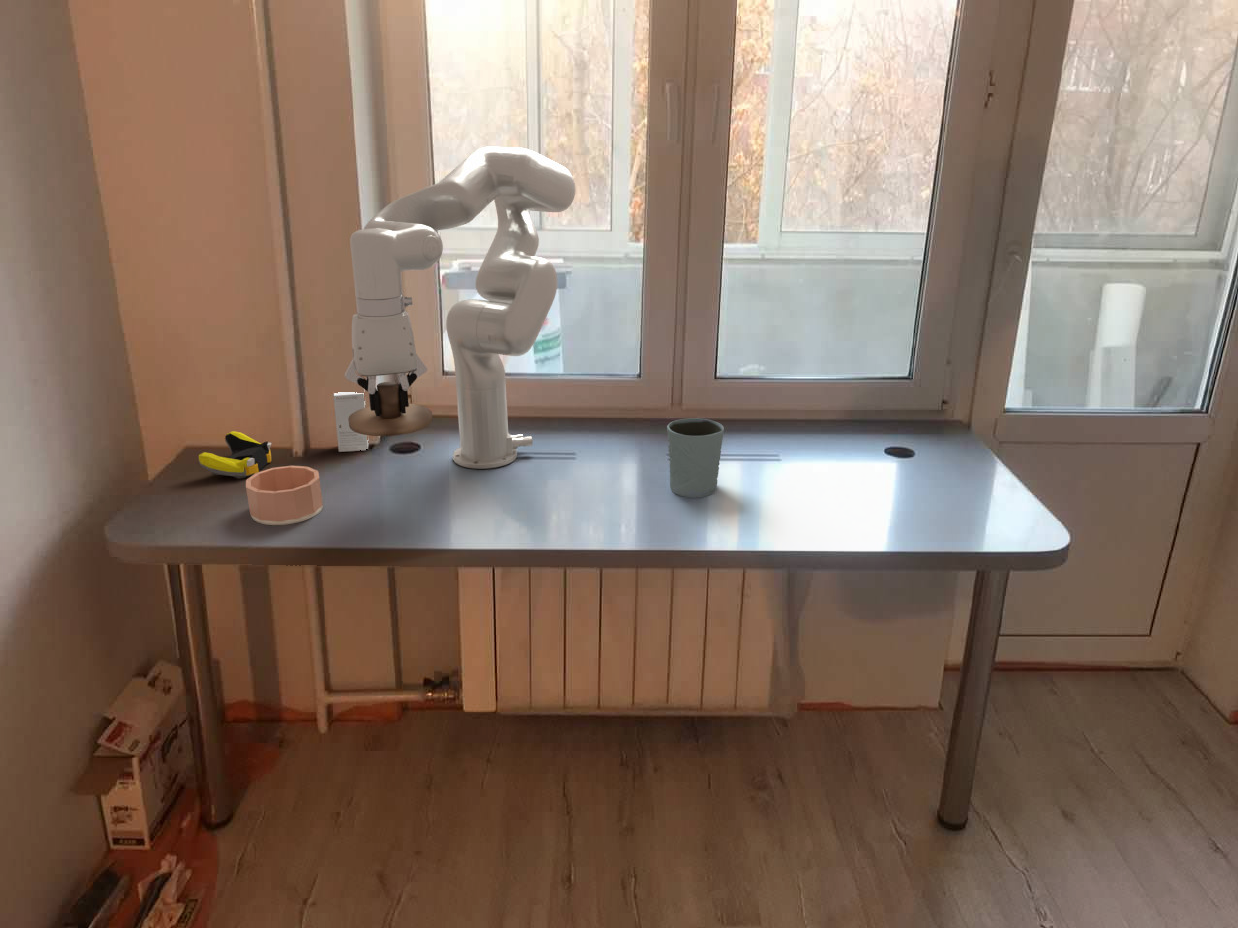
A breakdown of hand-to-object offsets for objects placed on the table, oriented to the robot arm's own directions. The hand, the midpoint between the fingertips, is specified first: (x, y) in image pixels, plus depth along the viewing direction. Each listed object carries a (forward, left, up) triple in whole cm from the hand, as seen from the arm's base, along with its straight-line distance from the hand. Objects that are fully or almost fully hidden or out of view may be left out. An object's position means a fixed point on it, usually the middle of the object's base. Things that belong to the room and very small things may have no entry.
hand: (390, 411), depth 165 cm
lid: (0, 0, -2) cm, 2 cm away
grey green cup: (-52, +11, -18) cm, 56 cm away
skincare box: (+5, -32, -18) cm, 37 cm away
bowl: (+19, -4, -17) cm, 26 cm away
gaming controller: (+27, -28, -18) cm, 43 cm away
